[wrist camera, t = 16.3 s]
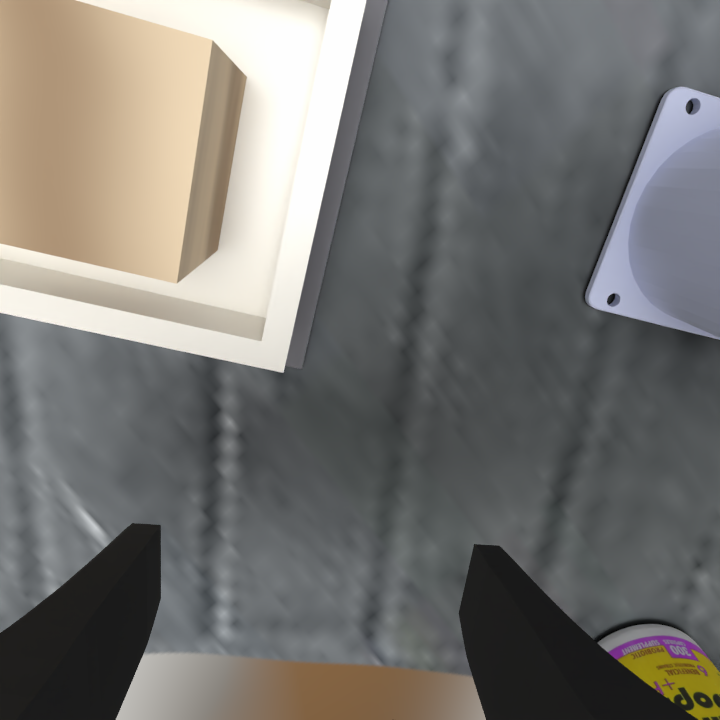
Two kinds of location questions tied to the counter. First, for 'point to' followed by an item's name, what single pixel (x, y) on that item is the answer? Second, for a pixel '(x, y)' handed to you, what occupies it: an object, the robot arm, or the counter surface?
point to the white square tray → (244, 197)
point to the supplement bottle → (669, 666)
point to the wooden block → (113, 138)
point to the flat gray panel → (336, 177)
